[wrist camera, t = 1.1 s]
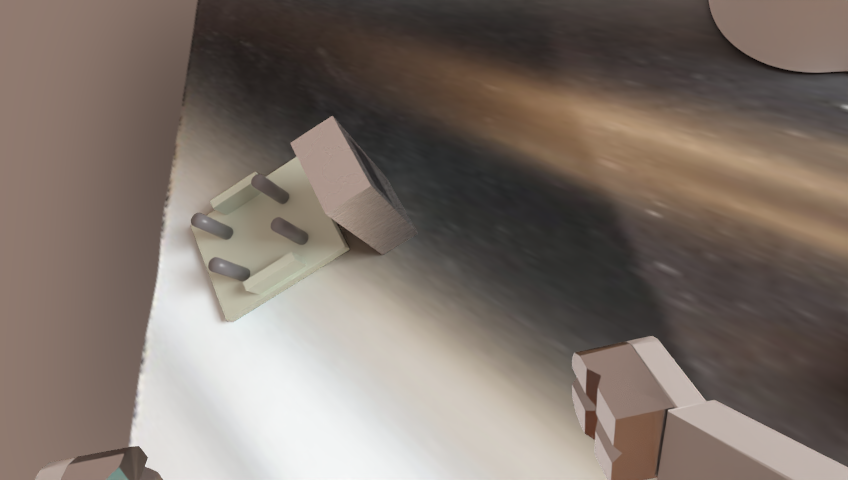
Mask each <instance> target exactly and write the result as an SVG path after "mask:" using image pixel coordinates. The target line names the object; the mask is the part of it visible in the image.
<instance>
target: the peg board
mask: <svg viewBox="0 0 848 480" xmlns="http://www.w3.org/2000/svg"><path fill="white" fill-rule="evenodd" d="M210 203H211V205H212V208H213V209H215V210H214V211H212V212H211V213H209V214H207V215H204V214H201V213H196V214H195V215H194V216H193V217H192V219H191V223H192V225H190V226H191V229H192V231H193V234H194V236H195V239H196V242H197V244H198V247H199V250H200V252H201V255H202V258H203V260H204V263H205V266H206V268H207V271H208V273H209V276H210V279H211V281H212V284H213V287H214V289H215V292H216V295H217V297H218V300H219V303H220V305H221V308H222V310H223V313H224V316H225V318H226V321H231V322H234V321H236V320H237V319H239V318H241V317H242V316H244V315H245V314H247V313H249V312H250V311H252V310H253V309H255V308H257V307H258V306H260V305H261V304H263V303H265V302H266V301H268V300H269V299H271V298H273V297H274V296H276V295H278V294H279V293H281V292H282V291H284V290H286V289H287V288H289V287H290V286H292V285H294V284H295V283H297V282H298V281H300V280H302V279H303V278H305V277H306V276H308V275H310V274H311V273H313V272H315V271H316V270H318V269H319V268H321V267H323V266H324V265H326V264H327V263H329V262H331V261H332V260H334V259H335V258H337V257H339V256H340V255H342V254H343V253H345V252H347V251H348V250H350V249H349V247H348V245H347V243H346V241H345V239H344V237H343V235H342V233H341V231H340V229H339V227H338V225H337V223H336V221H334V220H333V219H332V218H330V217H329V216H327V215H326V214H325V212H324V210H323V208H322V206H321V204H320V202H319V200H318V198H317V196H316V194H315V192H314V190H313V188H312V186H311V184H310V182H309V180H308V178H307V176H306V174H305V172H304V170H303V168H302V166H301V164H300V162H299V160H298V158H297V157H295V158H294V159H292V160H291V161H289V162H288V163H286V164H285V165H283V166H282V167H280V168H278V169H277V170H275V171H274V172H272V173H271V174H269V175H268V176H266V177H265V176H263V175H262V174H258V173H257V172H254V173H252V174H251V175H249V176H247V177H246V178H244V179H243V180H241V181H240V182H238V183H237V184H235V185H234V186H232V187H230V188H229V189H227V190H226V191H224V192H223V193H221V194H220V195H218V196H217V197H215V198H214V199H212V200H210Z"/></svg>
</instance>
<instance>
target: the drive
mask: <svg viewBox="0 0 848 480" xmlns="http://www.w3.org/2000/svg"><path fill="white" fill-rule="evenodd" d="M290 144H291V146H292V148H293V150H294V152H295V154H296V156H297V158H298V160H299V162H300V164H301V166H302V168H303V170H304V172H305V174H306V176H307V178H308V180H309V182H310V184H311V186H312V188H313V190H314V192H315V194H316V196H317V198H318V200H319V202H320V204H321V206H322V208H323V210H324V212H325V214H326V215H327V216H329V217H330V218H332V219H333V220H334V221H336V222H337V223H339V224H340V225H341V226H343V227H344V228H346V229H347V230H349V231H350V232H351V233H353V234H354V235H356V236H357V237H358V238H360V239H361V240H363V241H364V242H365V243H367V244H368V245H370V246H371V247H372V248H374V249H375V250H377V251H378V252H380V253H381V254H382V255H384V254H386V253H387V252H389V251H391V250H392V249H394V248H395V247H397V246H399V245H400V244H402V243H404V242H405V241H407V240H408V239H410V238H412V237H413V236H415V235H417V234H418V233H417V231H416V229H415V227H414V225H413V224H412V222H411V220H410V218H409V217H408V215H407V213H406V211H405V210H404V208H403V206H402V204H401V203H400V201H399V199H398V197H397V195H396V194H395V192H394V190H393V188H392V187H391V185H390V183H389V181H388V180H387V178H386V176H385V175H384V174H383V173H382V172H381V171H380V170H379V168H378V167H377V166H376V165H375V164H374V163H373V162H372V160H371V159H370V158H369V157H368V156H367V155H366V153H365V152H364V151H363V150H362V149H361V148H360V147H359V145H358V144H357V143H356V142H355V141H354V140H353V139H352V137H351V136H350V135H349V134H348V133H347V132H346V131H345V129H344V128H343V127H342V126H341V125H340V124H339V122H338V121H337V120H336V119H335V118H334V117H333V116H331V117H330V118H328V119H326V120H325V121H323V122H322V123H320V124H319V125H317V126H316V127H314V128H313V129H311V130H310V131H308V132H307V133H305V134H303V135H302V136H300V137H299V138H297V139H296V140H294V141H293V142H291V143H290Z"/></svg>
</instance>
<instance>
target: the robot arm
mask: <svg viewBox="0 0 848 480" xmlns="http://www.w3.org/2000/svg"><path fill="white" fill-rule="evenodd" d="M709 6H710V10H711V13H712V16H713V19H714V21H715V23H716V25H717V26H718V28H719V29H720V31H721V32H722V33H723V35H724V36H725V37H726V38H727V39H728V40H729V41H730V42H731V43H732V44H733V45H734V46H735V47H737V48H738V49H739V50H741V51H742V52H744V53H745V54H747V55H748V56H750V57H752V58H754V59H756V60H758V61H760V62H763V63H765V64H768V65H771V66H774V67H778V68H782V69H786V70H791V71H798V72H812V73H822V72H839V71H848V0H709ZM572 368H573V370H574V372H575V374H576V376H577V379H576V380H575V381H574V382H573V384H572V397H573V402H574V407H575V411H576V414H577V417H578V419H579V422H580V424H581V426H582V429H583V431H584V433H585V434H586V435H588V436H590V437H591V438H593V439H594V440H595V456H596V458H597V460H598V462H599V464H600V466H601V468H602V470H603V472H604V474H605V476H606V478H607V480H647V479H652V478H657V480H848V467H846V466H844V465H842V464H840V463H838V462H836V461H834V460H832V459H830V458H828V457H826V456H824V455H822V454H820V453H818V452H816V451H814V450H812V449H810V448H808V447H806V446H804V445H802V444H800V443H798V442H796V441H794V440H792V439H791V438H789V437H787V436H785V435H783V434H781V433H779V432H777V431H775V430H773V429H771V428H769V427H767V426H765V425H763V424H761V423H759V422H757V421H755V420H753V419H751V418H749V417H747V416H745V415H743V414H741V413H739V412H737V411H735V410H733V409H731V408H729V407H727V406H725V405H723V404H721V403H719V402H717V401H716V400H712V401H706V400H705V399H704V398H703V397H702V395H701V394H700V393H699V391H698V390H697V389H696V388H695V386H694V385H693V384H692V382H691V381H690V380H689V379H688V377H687V376H686V375H685V373H684V372H683V371H682V370H681V368H680V367H679V366H678V364H677V363H676V362H675V361H674V359H673V358H672V357H671V356H670V354H669V353H668V352H667V350H666V349H665V348H664V347H663V345H662V344H661V343H660V341H659V340H658V339H657V338H655V337H653V336H649V337H645V338H640V339H635V340H631V341H626V342H621V343H616V344H612V345H607V346H603V347H598V348H594V349H589V350H585V351H580V352H576V353H574V355H573V358H572ZM147 458H148V457H147V456H146V455H145V453H144V452H143V451H142V449H141V448H140V447H139V446H136V447H127V448H122V449H117V450H111V451H106V452H101V453H95V454H90V455H84V456H78V457H76V458H70V459H65V460H59V461H54V462H49V463H48V464H47V465H45V466H44V467H43V468H42V469H41V470H40V471H39V472H38V474H37V476H36V478H35V480H163V479H162V478H161V476H160V475H159V473H158V472H156V471H154V470H151V469H149V468H147V467H145V464H146V461H147Z"/></svg>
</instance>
